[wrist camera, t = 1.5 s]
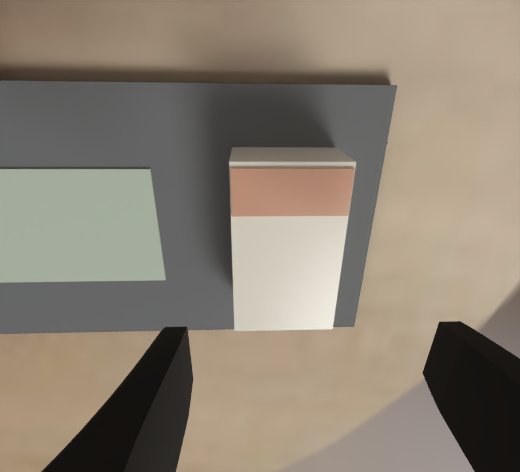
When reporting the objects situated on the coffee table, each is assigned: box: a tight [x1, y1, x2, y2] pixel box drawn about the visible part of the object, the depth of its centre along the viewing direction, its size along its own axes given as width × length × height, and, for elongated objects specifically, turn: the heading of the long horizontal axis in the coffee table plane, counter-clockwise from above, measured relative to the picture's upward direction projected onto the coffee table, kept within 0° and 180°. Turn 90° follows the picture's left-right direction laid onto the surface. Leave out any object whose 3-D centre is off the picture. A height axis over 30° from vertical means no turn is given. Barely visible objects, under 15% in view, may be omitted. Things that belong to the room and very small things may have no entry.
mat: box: [0, 81, 397, 334], centre depth 17 cm, size 22×14×1 cm, turn 89°
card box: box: [229, 147, 356, 331], centre depth 16 cm, size 8×5×3 cm, turn 179°
